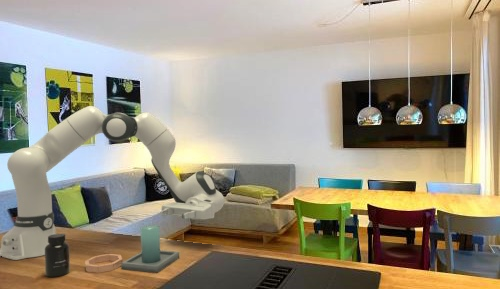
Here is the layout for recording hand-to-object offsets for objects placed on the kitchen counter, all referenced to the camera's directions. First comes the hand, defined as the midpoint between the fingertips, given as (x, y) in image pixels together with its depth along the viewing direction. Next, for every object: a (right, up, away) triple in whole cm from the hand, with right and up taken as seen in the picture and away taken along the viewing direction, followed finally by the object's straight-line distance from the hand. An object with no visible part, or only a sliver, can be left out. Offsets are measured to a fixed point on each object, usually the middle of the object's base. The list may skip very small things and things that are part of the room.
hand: (172, 214), depth 133 cm
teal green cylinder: (-5, -13, -10) cm, 17 cm away
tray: (-5, -14, -10) cm, 18 cm away
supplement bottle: (-32, -15, -17) cm, 40 cm away
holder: (-20, -15, -11) cm, 27 cm away
